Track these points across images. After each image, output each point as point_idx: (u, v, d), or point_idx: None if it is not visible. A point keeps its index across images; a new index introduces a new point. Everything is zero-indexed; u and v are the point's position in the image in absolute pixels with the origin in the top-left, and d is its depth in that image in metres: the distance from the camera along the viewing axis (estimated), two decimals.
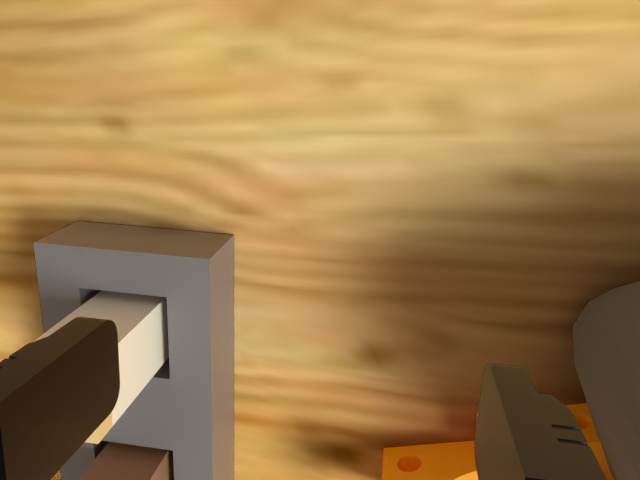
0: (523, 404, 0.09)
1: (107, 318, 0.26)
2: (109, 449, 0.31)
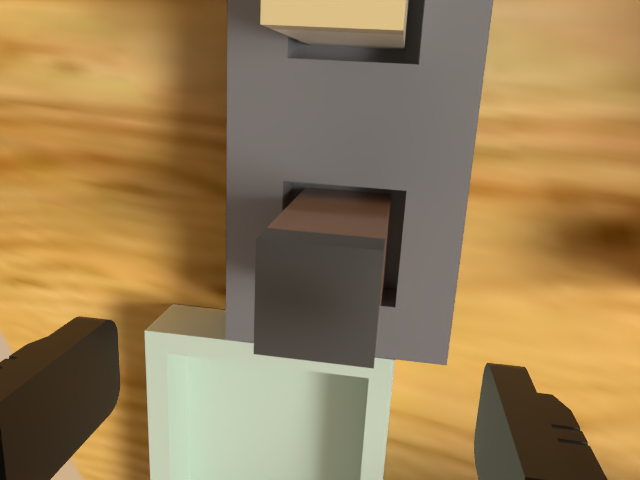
0: (523, 404, 0.09)
1: None
2: (306, 197, 0.21)
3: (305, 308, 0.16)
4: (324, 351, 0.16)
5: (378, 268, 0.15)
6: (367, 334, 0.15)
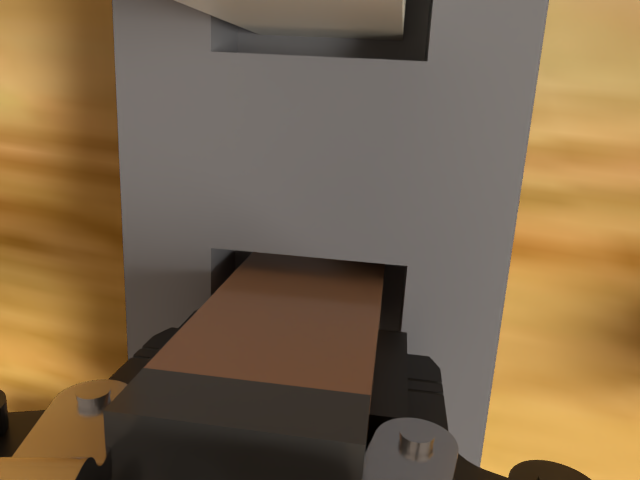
0: (390, 360, 0.11)
1: None
2: (250, 272, 0.13)
3: None
4: None
5: (354, 478, 0.07)
6: None
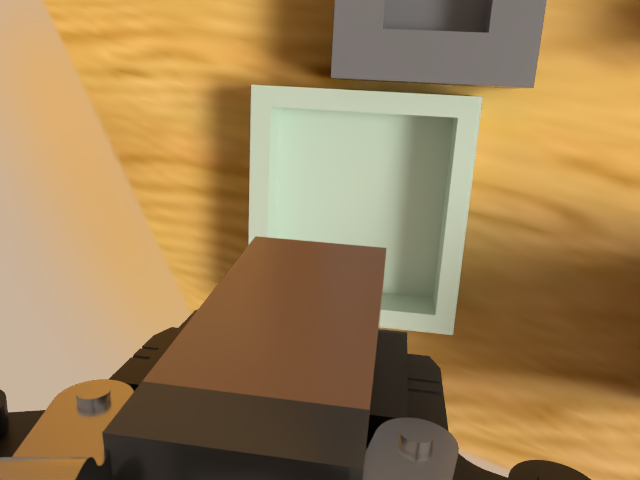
0: (390, 360, 0.11)
1: None
2: (249, 264, 0.13)
3: None
4: None
5: None
6: None
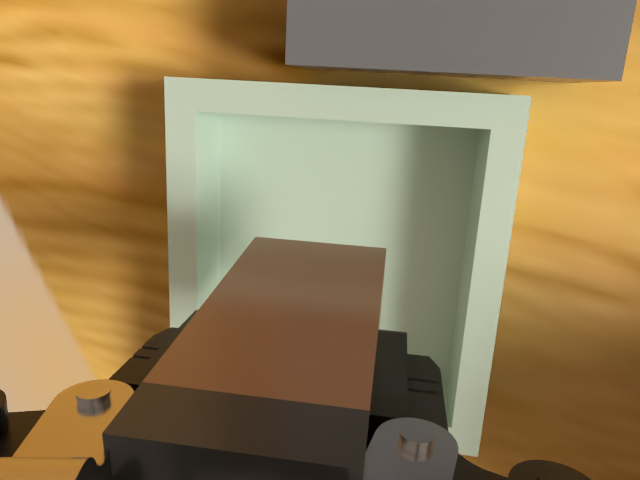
0: (390, 360, 0.11)
1: None
2: (249, 265, 0.13)
3: None
4: None
5: None
6: None
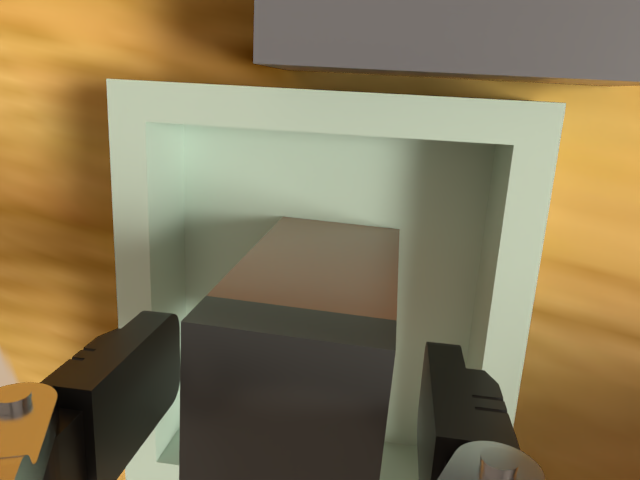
0: (450, 376, 0.10)
1: None
2: (281, 233, 0.15)
3: (261, 435, 0.09)
4: None
5: (385, 379, 0.09)
6: None
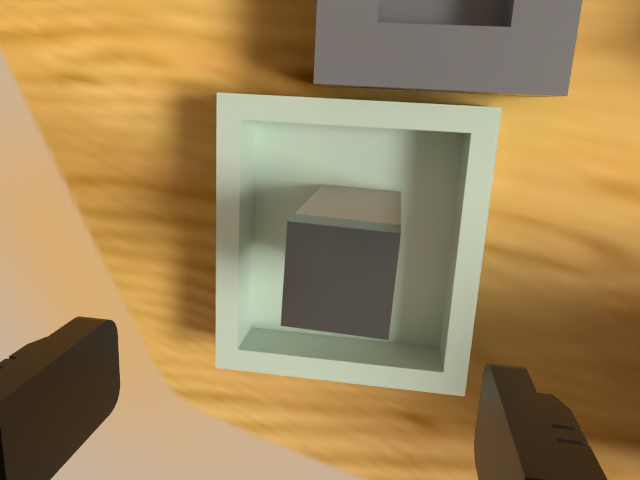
0: (523, 404, 0.09)
1: None
2: (325, 191, 0.23)
3: (328, 285, 0.17)
4: (345, 323, 0.18)
5: (395, 249, 0.17)
6: (383, 308, 0.17)
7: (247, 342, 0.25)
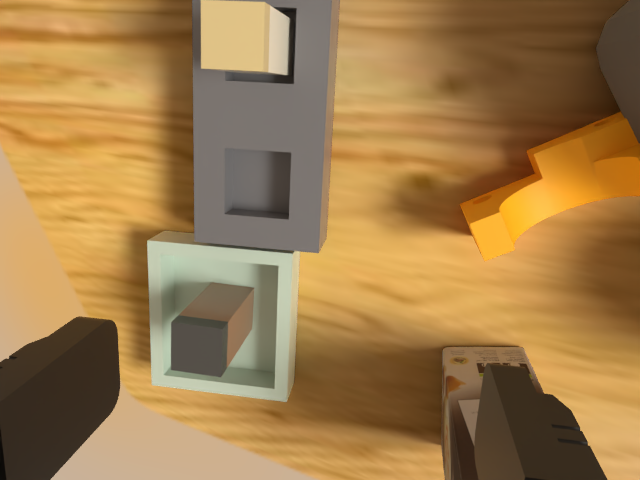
0: (523, 404, 0.09)
1: None
2: (207, 291, 0.42)
3: (192, 351, 0.37)
4: (200, 369, 0.37)
5: (220, 336, 0.36)
6: (217, 362, 0.37)
7: (170, 370, 0.45)
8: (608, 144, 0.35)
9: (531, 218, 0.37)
